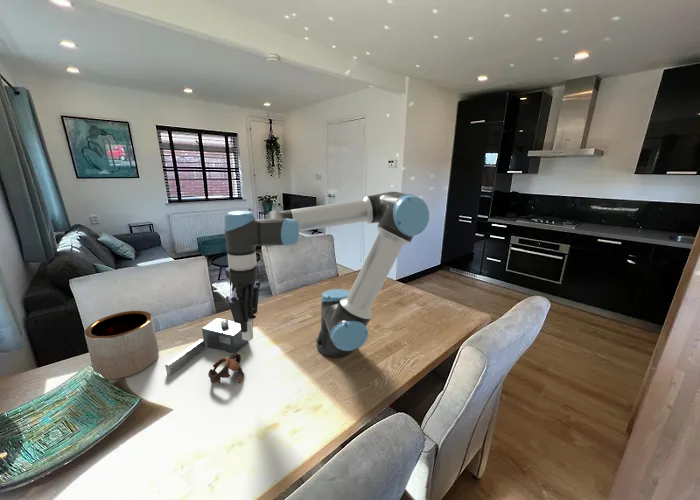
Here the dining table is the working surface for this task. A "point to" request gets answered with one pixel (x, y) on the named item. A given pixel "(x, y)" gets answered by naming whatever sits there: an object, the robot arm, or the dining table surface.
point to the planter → (122, 344)
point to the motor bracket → (211, 342)
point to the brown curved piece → (227, 368)
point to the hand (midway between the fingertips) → (247, 338)
